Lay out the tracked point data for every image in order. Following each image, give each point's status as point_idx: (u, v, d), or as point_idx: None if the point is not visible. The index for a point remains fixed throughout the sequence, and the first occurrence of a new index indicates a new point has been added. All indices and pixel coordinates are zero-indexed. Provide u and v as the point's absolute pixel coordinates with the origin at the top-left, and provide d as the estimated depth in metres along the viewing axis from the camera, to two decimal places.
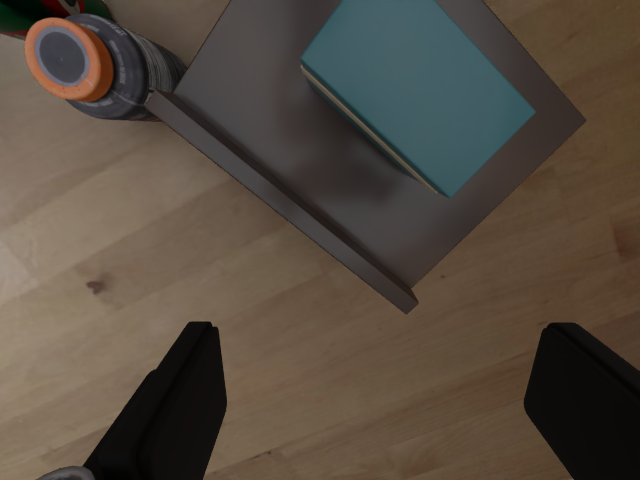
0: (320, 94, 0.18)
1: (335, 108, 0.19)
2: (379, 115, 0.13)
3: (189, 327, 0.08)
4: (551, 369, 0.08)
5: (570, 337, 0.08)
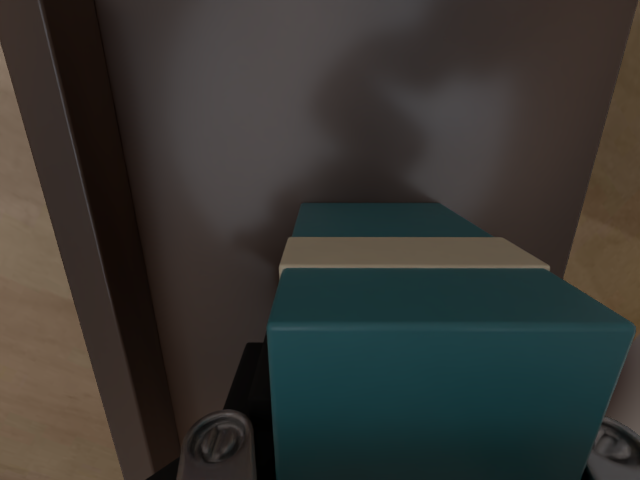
0: None
1: None
2: None
3: None
4: None
5: None
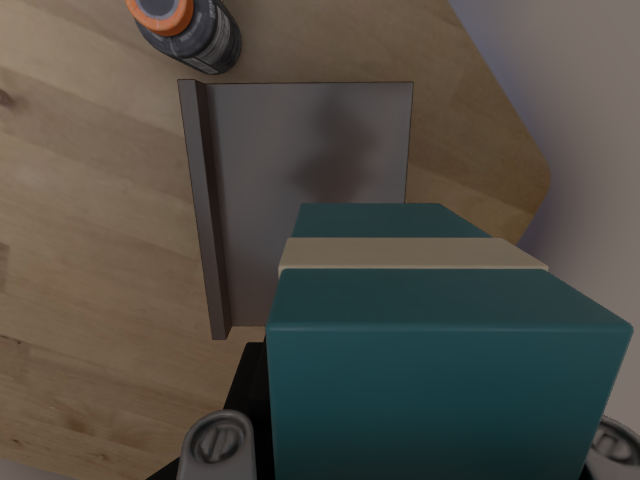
0: None
1: None
2: None
3: None
4: None
5: None
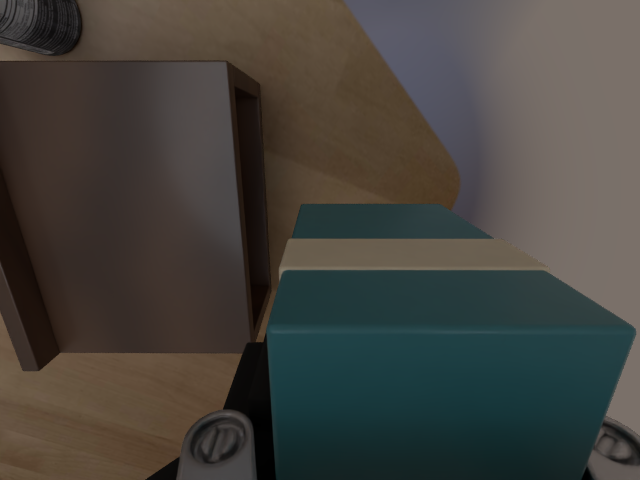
0: None
1: None
2: None
3: None
4: None
5: None
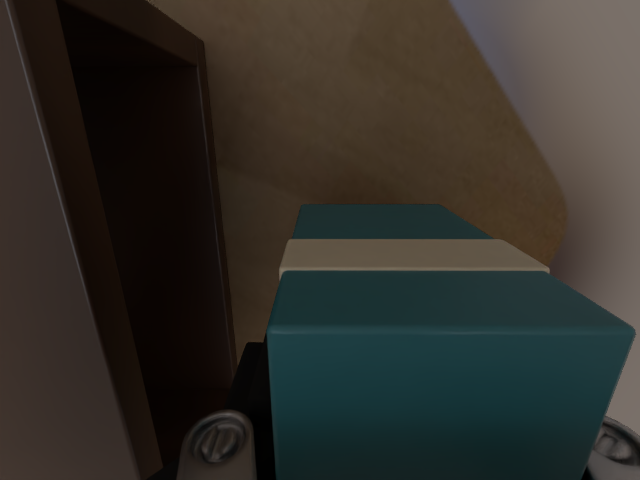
0: None
1: None
2: None
3: None
4: None
5: None
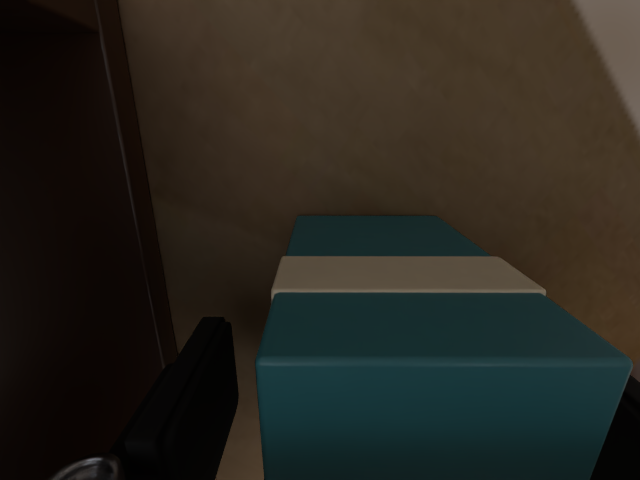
0: None
1: None
2: None
3: (203, 322, 0.09)
4: None
5: None
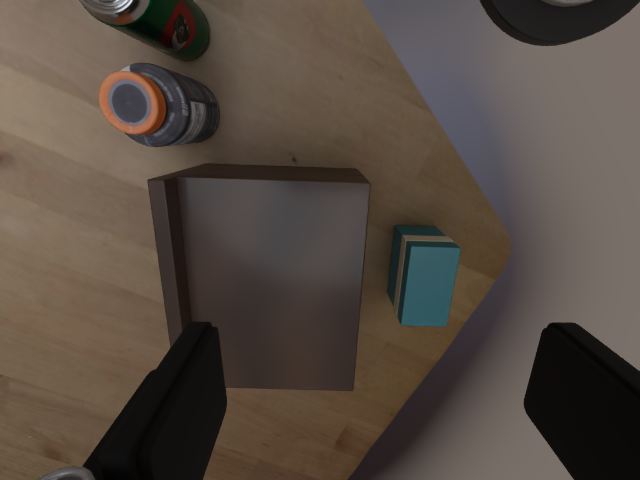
0: (394, 236, 0.36)
1: (393, 245, 0.36)
2: (411, 283, 0.30)
3: (189, 327, 0.08)
4: (551, 369, 0.08)
5: (570, 337, 0.08)
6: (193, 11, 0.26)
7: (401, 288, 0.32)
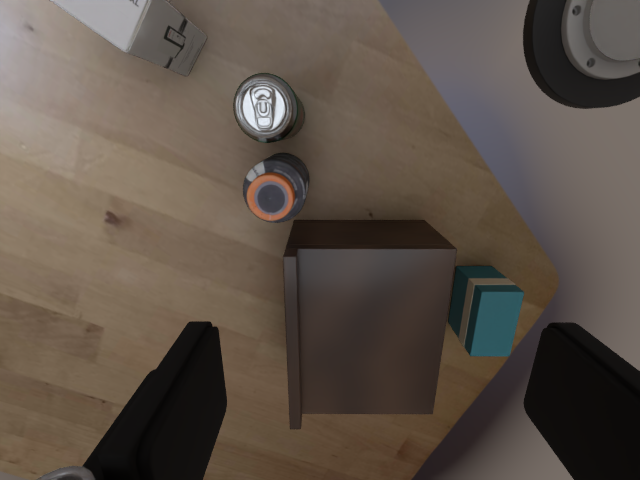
0: (457, 275, 0.41)
1: (455, 283, 0.41)
2: (480, 321, 0.36)
3: (189, 327, 0.08)
4: (551, 369, 0.08)
5: (570, 337, 0.08)
6: (302, 108, 0.31)
7: (469, 324, 0.37)
